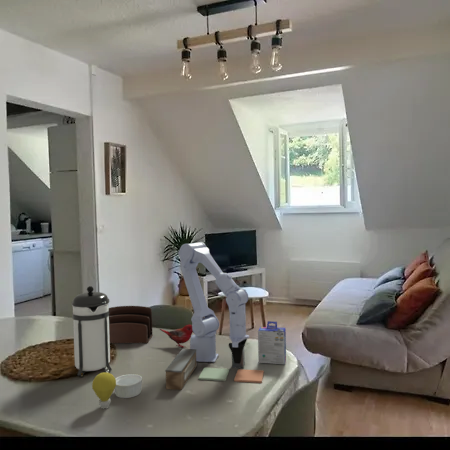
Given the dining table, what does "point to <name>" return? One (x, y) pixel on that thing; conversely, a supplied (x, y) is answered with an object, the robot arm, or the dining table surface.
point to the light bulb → (104, 388)
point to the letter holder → (130, 324)
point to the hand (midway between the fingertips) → (238, 360)
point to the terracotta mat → (249, 376)
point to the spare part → (242, 363)
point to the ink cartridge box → (272, 344)
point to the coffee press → (91, 331)
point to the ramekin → (128, 385)
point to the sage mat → (214, 374)
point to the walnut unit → (180, 369)
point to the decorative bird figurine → (180, 334)
